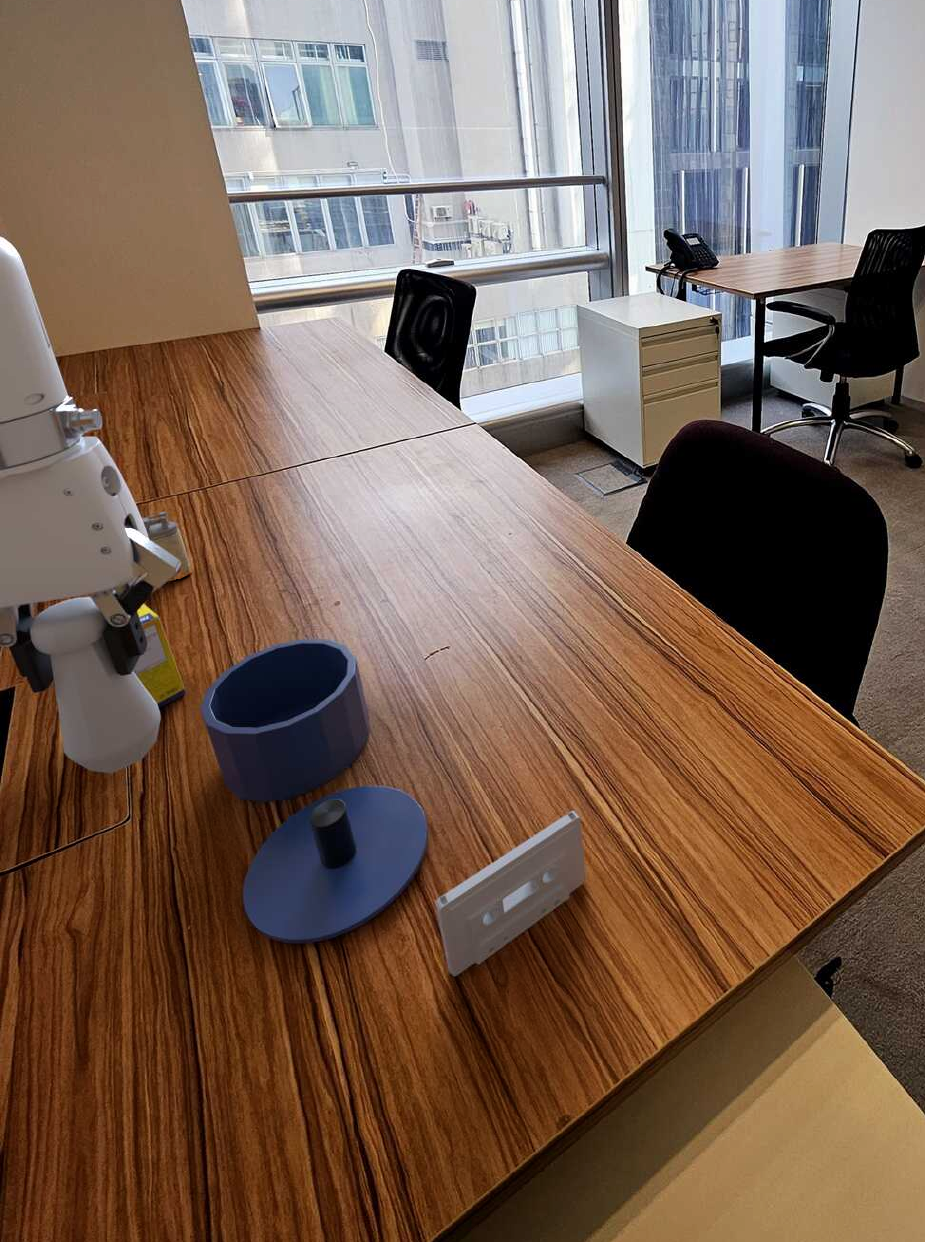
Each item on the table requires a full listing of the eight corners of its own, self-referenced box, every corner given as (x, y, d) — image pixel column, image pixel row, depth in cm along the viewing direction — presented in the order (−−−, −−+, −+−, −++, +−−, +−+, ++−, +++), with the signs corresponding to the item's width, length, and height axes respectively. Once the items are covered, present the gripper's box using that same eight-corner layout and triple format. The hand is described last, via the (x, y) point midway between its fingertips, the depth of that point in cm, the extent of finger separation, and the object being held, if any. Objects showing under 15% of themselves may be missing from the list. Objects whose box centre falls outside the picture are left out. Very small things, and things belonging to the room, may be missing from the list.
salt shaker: (56, 769, 54) (-11, 623, 49) (135, 715, 59) (82, 578, 54) (107, 793, 52) (43, 644, 47) (186, 735, 57) (135, 595, 52)
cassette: (578, 869, 64) (572, 804, 61) (590, 885, 62) (584, 819, 60) (445, 964, 57) (430, 896, 54) (455, 984, 55) (441, 915, 52)
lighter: (132, 592, 103) (110, 530, 99) (134, 579, 106) (113, 518, 102) (192, 577, 106) (173, 516, 103) (193, 565, 109) (174, 505, 106)
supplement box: (165, 674, 87) (138, 596, 83) (187, 694, 84) (160, 615, 80) (105, 704, 83) (74, 623, 79) (127, 726, 80) (94, 644, 75)
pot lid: (229, 977, 56) (209, 923, 54) (260, 821, 68) (245, 772, 66) (432, 910, 61) (421, 857, 58) (426, 775, 73) (417, 728, 71)
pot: (209, 820, 69) (185, 750, 65) (237, 719, 80) (217, 656, 77) (367, 777, 73) (351, 710, 70) (371, 687, 85) (358, 627, 82)
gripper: (174, 401, 52) (235, 616, 59) (-135, 432, 47) (-28, 664, 54) (140, 441, 45) (213, 677, 52) (-224, 481, 40) (-89, 739, 47)
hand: (90, 668), depth 53 cm, fingers closed on salt shaker, 4 cm apart
